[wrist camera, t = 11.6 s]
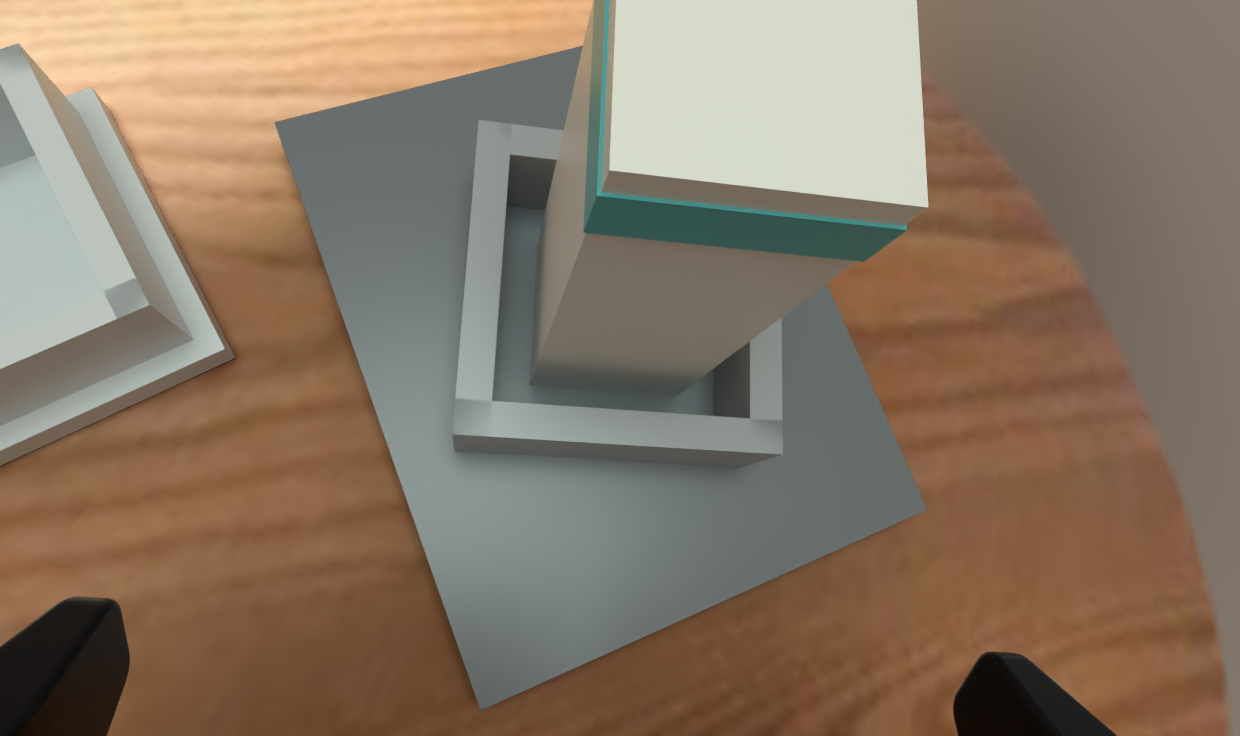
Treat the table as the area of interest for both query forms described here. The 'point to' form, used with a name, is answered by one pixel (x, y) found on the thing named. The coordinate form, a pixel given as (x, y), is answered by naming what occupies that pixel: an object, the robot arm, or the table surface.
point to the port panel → (566, 395)
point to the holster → (84, 269)
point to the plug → (719, 179)
